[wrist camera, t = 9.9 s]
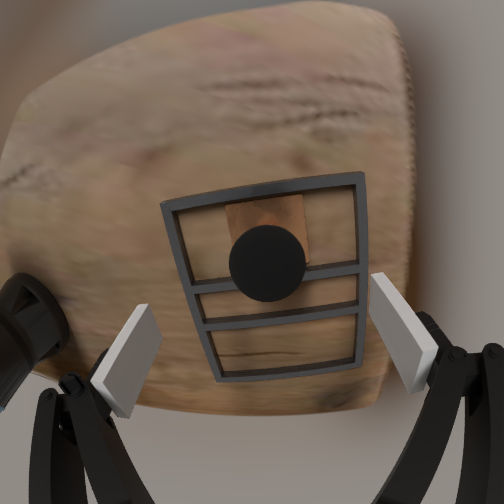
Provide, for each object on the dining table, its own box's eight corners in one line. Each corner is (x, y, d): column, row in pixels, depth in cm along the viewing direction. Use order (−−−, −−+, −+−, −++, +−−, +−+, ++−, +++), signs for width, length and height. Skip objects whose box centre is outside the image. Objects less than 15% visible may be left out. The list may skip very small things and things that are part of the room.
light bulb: (304, 253, 28) (316, 308, 19) (249, 265, 29) (236, 323, 20) (292, 198, 26) (300, 231, 17) (233, 212, 27) (211, 251, 18)
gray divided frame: (217, 376, 36) (216, 382, 35) (163, 200, 27) (159, 203, 26) (359, 360, 34) (361, 366, 33) (360, 171, 25) (364, 172, 24)
